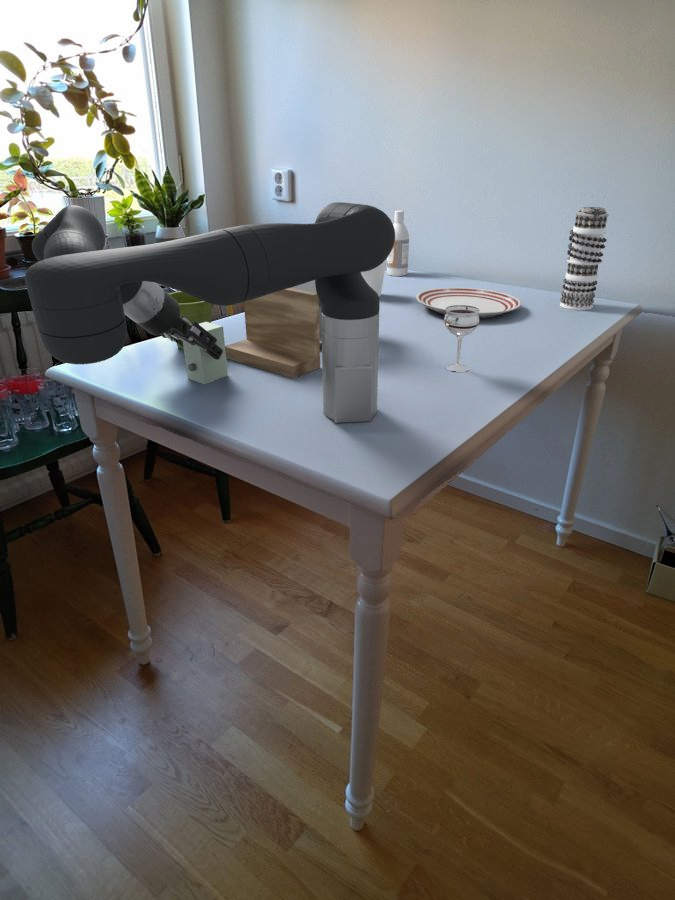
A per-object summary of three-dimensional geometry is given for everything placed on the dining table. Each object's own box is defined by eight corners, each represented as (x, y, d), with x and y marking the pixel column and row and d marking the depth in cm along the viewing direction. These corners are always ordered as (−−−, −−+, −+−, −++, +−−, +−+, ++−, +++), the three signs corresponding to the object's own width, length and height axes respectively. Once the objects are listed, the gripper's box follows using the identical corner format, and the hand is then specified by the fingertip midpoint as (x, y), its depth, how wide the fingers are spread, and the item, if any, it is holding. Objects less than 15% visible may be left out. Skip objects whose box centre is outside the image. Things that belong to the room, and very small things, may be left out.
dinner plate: (506, 297, 176) (507, 285, 175) (531, 323, 152) (533, 310, 150) (411, 297, 177) (412, 286, 175) (421, 324, 152) (421, 311, 151)
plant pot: (164, 341, 141) (157, 292, 135) (215, 336, 144) (210, 288, 139) (169, 357, 131) (161, 305, 125) (224, 351, 134) (219, 300, 129)
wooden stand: (293, 378, 119) (289, 301, 112) (225, 357, 130) (218, 286, 123) (320, 367, 124) (318, 293, 117) (252, 348, 136) (247, 280, 129)
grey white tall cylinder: (554, 301, 170) (569, 205, 158) (588, 302, 169) (606, 205, 158) (562, 310, 162) (578, 209, 150) (598, 310, 161) (617, 209, 150)
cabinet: (200, 385, 116) (194, 334, 111) (184, 379, 119) (177, 329, 114) (227, 375, 121) (223, 326, 116) (211, 370, 124) (206, 321, 119)
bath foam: (382, 273, 206) (384, 210, 197) (400, 271, 209) (402, 209, 199) (393, 277, 200) (395, 212, 191) (411, 275, 203) (414, 211, 194)
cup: (349, 293, 181) (349, 251, 175) (378, 291, 183) (379, 250, 178) (359, 300, 173) (360, 257, 168) (389, 298, 175) (390, 255, 170)
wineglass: (471, 362, 126) (477, 304, 121) (477, 374, 120) (483, 313, 114) (438, 362, 126) (442, 304, 121) (442, 374, 120) (447, 314, 115)
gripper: (111, 315, 108) (173, 360, 121) (160, 328, 100) (220, 375, 113) (132, 279, 109) (191, 328, 123) (182, 290, 101) (239, 341, 115)
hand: (205, 351), depth 118 cm, fingers open, 8 cm apart
